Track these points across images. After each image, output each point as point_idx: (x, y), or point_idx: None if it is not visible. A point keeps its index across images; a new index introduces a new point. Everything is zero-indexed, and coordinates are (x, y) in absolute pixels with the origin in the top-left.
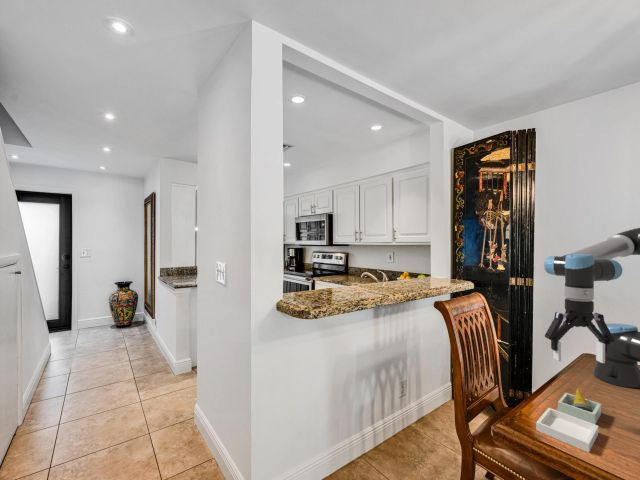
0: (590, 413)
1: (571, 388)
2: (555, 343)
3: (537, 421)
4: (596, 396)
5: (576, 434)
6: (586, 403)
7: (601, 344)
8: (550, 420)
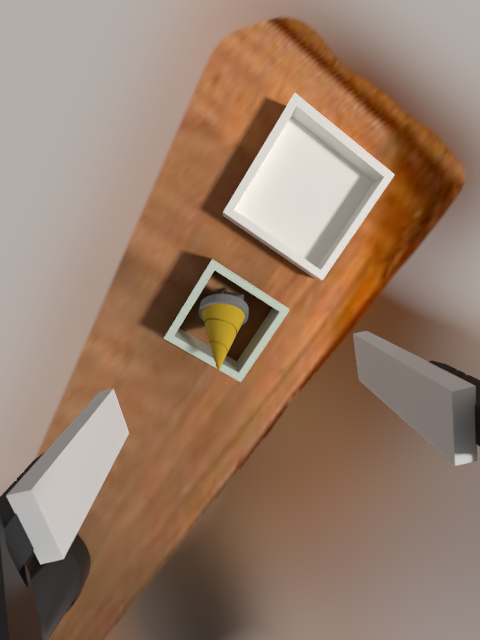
0: (221, 265)
1: (189, 459)
2: (478, 390)
3: (388, 181)
4: (138, 432)
5: (288, 180)
6: (212, 312)
7: (44, 492)
8: (327, 237)
